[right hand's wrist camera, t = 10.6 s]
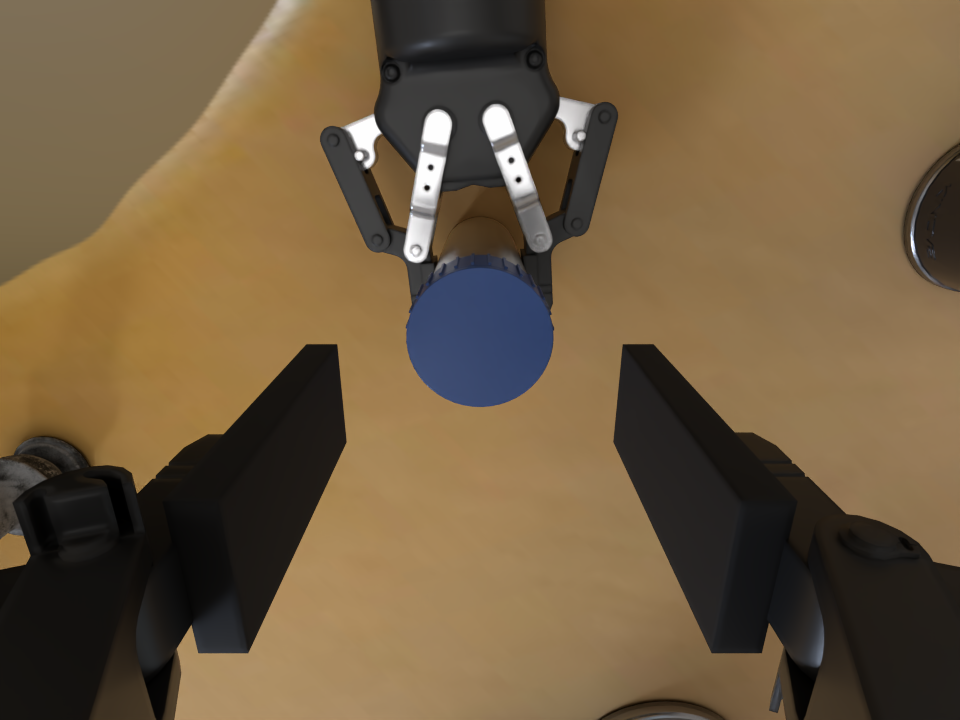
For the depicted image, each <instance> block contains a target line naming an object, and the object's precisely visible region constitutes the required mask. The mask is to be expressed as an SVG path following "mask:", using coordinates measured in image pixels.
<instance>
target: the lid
mask: <svg viewBox="0 0 960 720" xmlns="http://www.w3.org/2000/svg"><path fill="white" fill-rule="evenodd" d="M409 313H411V314H410V317H409V320H408V322H407V325H406V328H407V341H406V342H407V348H408V353H409V357H410V360H411V362H412V364H413V367H414V369H415V370H416V372H417V374H418V375H419V377H420V378H421V379H422V380H423V382H424V383H425V384H426V385H427V386H428V387H429V388H430V389H432V390H433V391H434V392H436V393H437V394H438V395H440V396H442V397H443V398H445V399H447V400H450V401H452V402H454V403H458V404H461V405H466V406H472V407H486V406H494V405H499V404H502V403H505V402H508V401H510V400H512V399H515V398H517V397H518V396H520V395H521V394H523V393H525V392H526V391H527V390H528V389H529V388H531V387H532V386H533V385H534V384H535V383H536V381H537V380H538V379H539V378H540V376H541V375H542V374H543V372H544V370H545V368H546V366H547V364H548V362H549V359H550V357H551V352H552V348H553V330H554V327H553V324H552V321H551V318H550V315H552V314H551V311H550V309H549V307H548V304H547V302H546V300H545V297H544V295H543V293H542V291H541V288H540V287H539V286H536V284H535V283H534V281H533V278H532V276H531V275H530V274H527V273H525V272H524V271H523V270H522V269H521V268H520V265H519V264H517V265H515V264H513V263H511V262H509V261H507V260H506V258H505V257H503V258H499V257H495V256H491V255H490V254H487V255H475V253H472V254H471V255H470V256H465V257H461V258H459V256H458V257H456V259H455V260H453V261H451V262H449V263H447V264H445V263H443V264H442V265H441V268H439V269H438V270H437V271H436V272H435V273H433V272H431V273H430V275H429V277H428V280H427V281H426V283H425V284H424V285H423V284H422V285H421V286H420V289H419V291H418V293H417V295H416V297H415V299H414V301H413V304H412V306H411V308H410V310H409Z"/></svg>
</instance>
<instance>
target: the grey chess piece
mask: <svg viewBox="0 0 960 720" xmlns="http://www.w3.org/2000/svg"><path fill="white" fill-rule="evenodd" d="M85 467H89V466H88V464H87V462H86V460H85V459H84V457H83V456H82V455H81V454H80V452H78V451H77V450H76V449H75V448H74V447H72V446H71V445H69V444H67V443H65V442H64V441H61V440H58V439H55V438H52V437H35V438H31V439H29V440H27V441H24V442H23V443H22V444H21V445H20V446H19V447H17V449H16V451H15V453H14V455H13V456H7V457H2V458H0V539H1V538H2V537H4V536H5V535H6V534H7V533H10V534H13V535H22V536H24V535H23V532H22V529H21V526H20V523H19V521H18V518H17V515H16V512H15V509H14V506H13V504H12V502H14V501H15V500H16V499H17V498H18V497H19V496H20V495H21V494H22V493H23V492H24V491H26V490H27V489H29V488H31V487H33V486H35V485H36V484H38V483H40V482H42V481H43V480H46V479H49V478H51V477H54V476H57V475H59V474H62V473H64V472H68V471H72V470H77V469H81V468H85Z"/></svg>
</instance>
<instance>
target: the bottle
mask: <svg viewBox="0 0 960 720" xmlns="http://www.w3.org/2000/svg"><path fill="white" fill-rule="evenodd" d="M472 253H475V255H487V254H490V255H491V256H495V257H499V258H503V257H505V258H506V260H507V261H509V262H511V263H513V264H515V265H517V264H519V265H520V268H521V269H522V270H523V271H524V272H525V273H526V270H525V268H524V265H523V263H522V260H521V258H520V255H519V253H518V250H517V248H516V245H515V243H514V240H513V238H512V236H511V234H510V232H509V231H508V230H507V229H506V228H505V227H504V226H503V225H502V224H501V223H499V222H498V221H496V220H493V219H490V218H486V217H474V218H470V219H467V220H465V221H463V222H461V223H460V224H458V225H457V226H456V227H455V228H454V229H453V230H452V231H451V233H450V234H449V236H448V238H447V240H446V243H445V245H444V248H443V251H442V253H441V256H440V258H439V261H438V263H437V266H436V268H435V271H434V273H435V272H436V271H437V270H438V269H439V268H441V265H442V264H443V263H445V264H447V263H449V262H451V261H453V260H455V259H456V257H458V256H459V258H461V257H465V256H470V255H471V254H472Z"/></svg>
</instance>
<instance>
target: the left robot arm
mask: <svg viewBox="0 0 960 720" xmlns="http://www.w3.org/2000/svg"><path fill="white" fill-rule="evenodd" d="M371 6H372V14H373V22H374V29H375V37H376V45H377V52H378V60H379V68H380V77H381V83H380V91H379V95H378V98H377V101H376V103H375V107H374V114H372V115H370V116H367V117H365V118H363V119H360V120H358V121H356V122H353V123H351V124H349V125H346V126H344V127H336V126H329V127H327V128H325V129H324V130H323V131H322V133H321V136H320V142H321V145H322V148H323V150H324V152H325V154H326V156H327V159H328V161H329V163H330V165H331V168H332V170H333V172H334V174H335V176H336V179H337V181H338V183H339V185H340V188H341V190H342V192H343V194H344V196H345V199H346V201H347V203H348V205H349V208H350V210H351V212H352V214H353V216H354V219H355V221H356V223H357V225H358V228H359V230H360V232H361V234H362V237H363V239H364V241H365V243H366V245H367V247H368V248H369V249H370V250H371V251H373V252H378V253H379V252H385V253H388V254H392V255H396V256H398V257H400V258H401V259H402V260H403V261H404V262H405V264H406V266H407V269H408V277H409V285H410V293H411V300H412V304H413V301H414V299H415V297H416V295H417V293H418V291H419V289H420V286H421V285H422V284H423V285H424V284H425V283H426V281H427V280H428V277H429V275H430V273H431V272H433V273H434V271H435V268H436V266H437V263H438V259H437V256H433V252H432V244H433V239H434V234H435V229H436V224H437V219H438V214H439V210H440V206H441V201H442V196H443V192H445V191H457V190H459V189H462V188H464V187H467V186H470V185H479V186H484V187H490V188H491V187H503V186H505V188H506V190H507V193H508V196H509V198H510V201H511V203H512V206H513V208H514V211H515V214H516V216H517V219H518V222H519V224H520V227H521V230H522V232H523V235H524V249H520V252H521V260H522V263H523V265H524V268H525V270H526V273H527V274H530V275H531V276H532V278H533V281H534V283H535V284H536V286H539V287H540V288H541V291H542V293H543V295H544V297H545V300H546V302H547V304H548V307H549V309H550V310H551V307H552V304H553V297H552V271H551V253H552V250H553V249H554V247H555V246H556V245H557V244H558V243H560V242H562V241H564V240H566V239H568V238H571V237H573V236H575V237H577V236H581V235H583V234H584V233H586V231H587V230H588V228H589V225H590V221H591V217H592V213H593V210H594V206H595V202H596V198H597V195H598V191H599V187H600V183H601V179H602V176H603V172H604V168H605V164H606V161H607V157H608V153H609V149H610V146H611V142H612V138H613V134H614V130H615V127H616V123H617V119H618V112H617V109H616V108H615V106H614V105H613V104H611V103H609V102H602V103H598V104H590V103H586V102H581V101H577V100H572V99H568V98H563V97H560V96H559V92H558V89H557V87H556V85H555V83H554V82H553V80H552V78H551V75H550V73H549V69H548V65H547V51H546V23H545V0H371ZM554 120H556V121H558V122H559V123H560V124H561V126H562V128H563V142H564V144H565V146H566V147H567V148H568V149H570V150H573V151H574V152H573V156H572V160H571V165H570V169H569V173H568V177H567V181H566V185H565V189H564V193H563V197H562V201H561V206H560V210H559V211H558V212H556V213H554V214H552V215H550V216H547V217H545V215H544V212H543V209H542V206H541V203H540V200H539V196H538V193H537V190H536V187H535V185H534V182H533V179H532V176H531V174H530V171H529V168H528V165H527V164H528V162H529V161H530V159H531V157H532V156H533V154H534V152H535V151H536V149H537V147H538V146H539V144H540V142H541V141H542V139H543V137H544V136H545V134H546V132H547V131H548V129H549V127H550V126H551V124H552V122H553V121H554ZM383 135H384V137H385V138H386V139H387V140H388V141H389V142H390V144H391V145H392V146H393V147H394V148H395V149H396V151H397V152H398V153H399V154H400V155H401V157H402V158H403V159H404V160H405V161H406V162H407V164H408V165H409V166H410V167H411V168H412V169H413V171H414V172H415V173H416V176H415V181H414V187H413V193H412V198H411V204H410V216H409V221H408V227H407V229H406V228H402V227H399V226H395V225H394V223H393V221H392V219H391V216H390V214H389V212H388V209H387V207H386V205H385V202H384V200H383V198H382V195H381V193H380V190H379V188H378V186H377V183H376V181H375V179H374V176H373V174H372V172H371V169H370V168H372V167H374V166H375V165H376V164H377V162H378V151H377V143H378V140H379V139H380V137H381V136H383ZM904 242H905V248H906V252H907V255H908V258H909V260H910V262H911V264H912V265H913V267H914V268H915V270H916V271H917V272H918V273H919V274H920V275H921V276H922V277H923V278H924V279H926V280H927V281H929V282H930V283H932V284H934V285H936V286H939V287H942V288H946V289H949V290H953V291H957V292H960V145H958V146H956V147H955V148H953V149H952V150H951V151H949V152H948V153H947V154H946V155H945V156H943V157H942V158H941V159H940V160H939V161H938V162H937V163H936V164H935V165H934V166H933V167H932V168H931V170H930V171H929V172H928V173H927V174H926V176H925V177H924V178H923V180H922V181H921V183H920V185H919V186H918V188H917V190H916V191H915V193H914V195H913V198H912V200H911V202H910V205H909V208H908V211H907V215H906V219H905V226H904Z"/></svg>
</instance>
